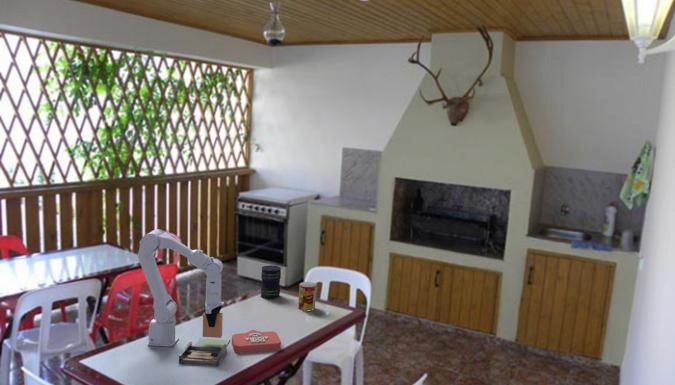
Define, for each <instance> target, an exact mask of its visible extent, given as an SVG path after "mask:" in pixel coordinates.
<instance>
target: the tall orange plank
mask: <svg viewBox="0 0 675 385" xmlns="http://www.w3.org/2000/svg"><path fill="white" fill-rule="evenodd" d="M223 316H224V314H223V312H220V313H218V314H217V317H216V323H215V327H209V325H208V321H207V317H206V315H205V313H204V312H203V314H202V338H213V339H215V338H217V339H221V338H222V336H223V321H224V320H223V319H224V317H223Z"/></svg>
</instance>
